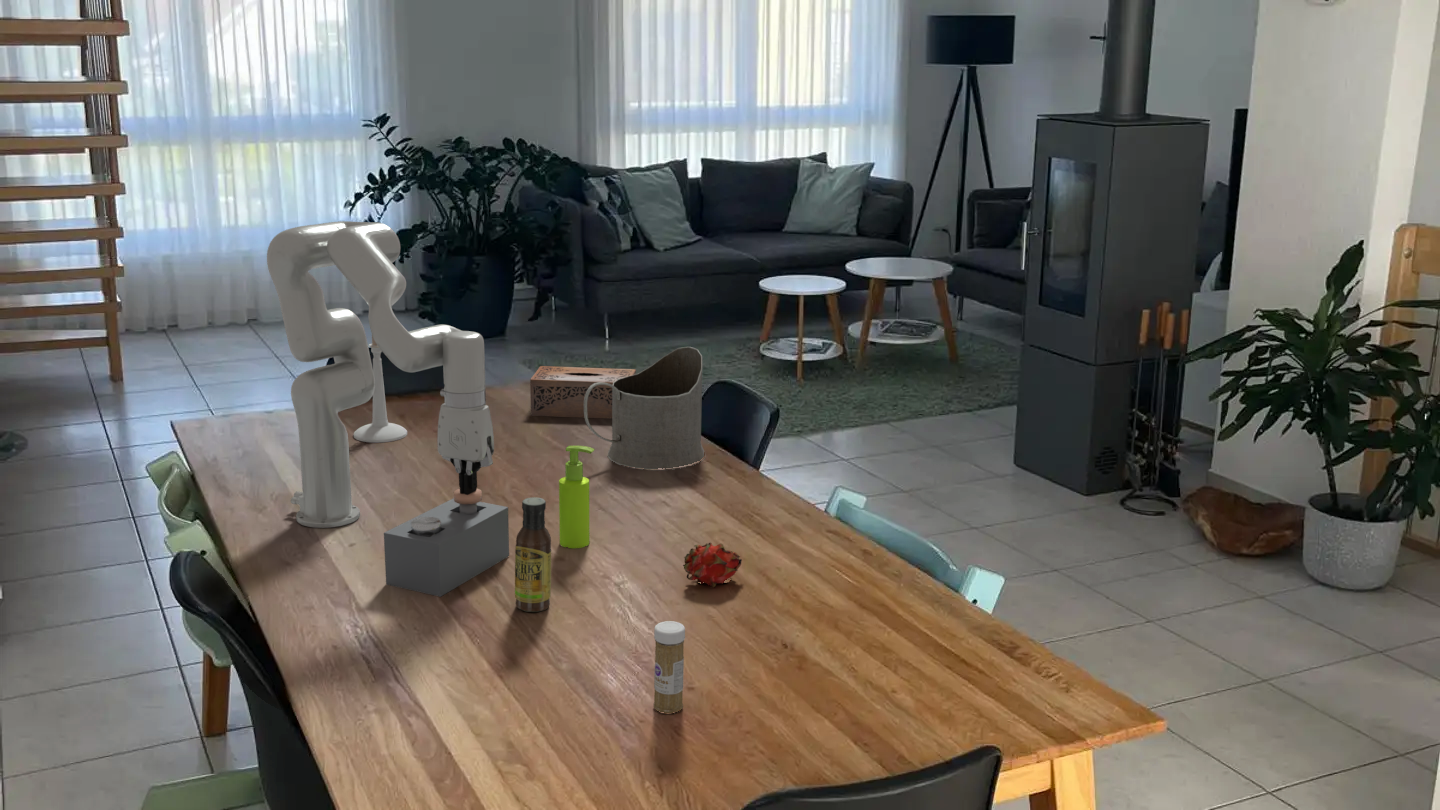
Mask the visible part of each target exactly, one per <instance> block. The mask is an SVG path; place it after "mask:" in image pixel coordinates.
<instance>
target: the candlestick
mask: <svg viewBox="0 0 1440 810" xmlns="http://www.w3.org/2000/svg"><path fill="white" fill-rule="evenodd" d="M368 347H370V348H371V349H370V351H371V353H372V355H373V358H372V368H373V373H374V380H375V389H374V393H373V395H372V420H371V423H368V424H365V425H362V426H360V427H359V428H357V429H356V430H355V431H354V432H353V438H354V439H355V440H357V441H360V442H363V443H365V442H366V443H374V444H375V443H380V444H381V443H389V442H395V441H399V440H402V439H404V438H405V437H407V436H408V430H407V429H406V428H405V427H403V426H402V425H400V424H396V423H394V422H389V420H388V416H387V415H388V413H387V406H386V405H387V403H386V395H385V393H386V392H385V385H384V376H383V374H384V373H383V364H382V363H383V362H382V358H381V354H382V353H383V352H382V350H381V349H380V348H379V347H378V345H377V344H376V342H375V340H374V339H373V336H372V335H371V343H369V344H368Z"/></svg>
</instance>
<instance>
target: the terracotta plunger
mask: <svg viewBox="0 0 1440 810" xmlns="http://www.w3.org/2000/svg"><path fill="white" fill-rule="evenodd" d="M482 493H483V492H482V490H481V489H480V488H477V490H476V491H475V492H473V493H471V494H469V495H466V494H465V493H464V494H461V493H460V488H457V489H456V490H454V491H453V498H454V501H455V502H456V503H459V506H460V513H463V514H468V515H473V514H475V513H477V503H478V502H482V500H483V495H482Z"/></svg>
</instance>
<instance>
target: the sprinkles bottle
mask: <svg viewBox="0 0 1440 810" xmlns="http://www.w3.org/2000/svg"><path fill="white" fill-rule="evenodd" d="M653 637H654V641H655V649H654V650H655V653H654V654H655V656H654V678H653V679H654V680H653V681H654V683H653V684H654V695H653V696H654V699H653V700H654V702H653V709H654V708H655V709H656V710H657V711H660V712H664V713H673V712H677V711H679V710H681V709H682V710H683V708H684V704H683V696H684V695H683V692H684V691H683V690H684V667H685V666H684V665H685V664H684V663H685V661H684V660H685V659H684V658H685V657H684V650H685V649H684V643H685V639H686V628H685V626H684V624H683V623H680V622H679V621H673V620H666V621H661V622H659V623H657V624H655V626H654V635H653ZM655 709H654V710H655ZM656 710H655V711H656ZM682 710H681V711H682ZM657 711H656V712H657ZM679 712H680V711H679ZM677 713H678V712H677Z"/></svg>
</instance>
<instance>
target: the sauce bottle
mask: <svg viewBox="0 0 1440 810" xmlns="http://www.w3.org/2000/svg"><path fill="white" fill-rule="evenodd" d="M521 503H522V504H521V509H522V518H523V519H522V522H521V523H522V527H521V528H520V530H519V531H518V532H517V535H516V539H515V540H516V541H515V551H514V552H515V555H514V559H515V560H514V597H515V607H516V608H518V609H519V610H521V611H523V612H528V613H539V612H543V611H545V610H548V608H549V607H550V605H551V600H550V599H551V595H552V593H551V592H552V591H551V590H552V588H551V587H552V586H551V583H552V538H551V534H550V532H549V530H548V529H547V527H546V522H545V521H546V520H545V519H546V518H545V517H546V516H545V513H546V512H545V511H546V509H547V508H546V506H547V505H546V504H547V502H546V500H545V499H544V498H541V497H534V496H532V497H526V498H525V499H523V500H522V502H521Z"/></svg>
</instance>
